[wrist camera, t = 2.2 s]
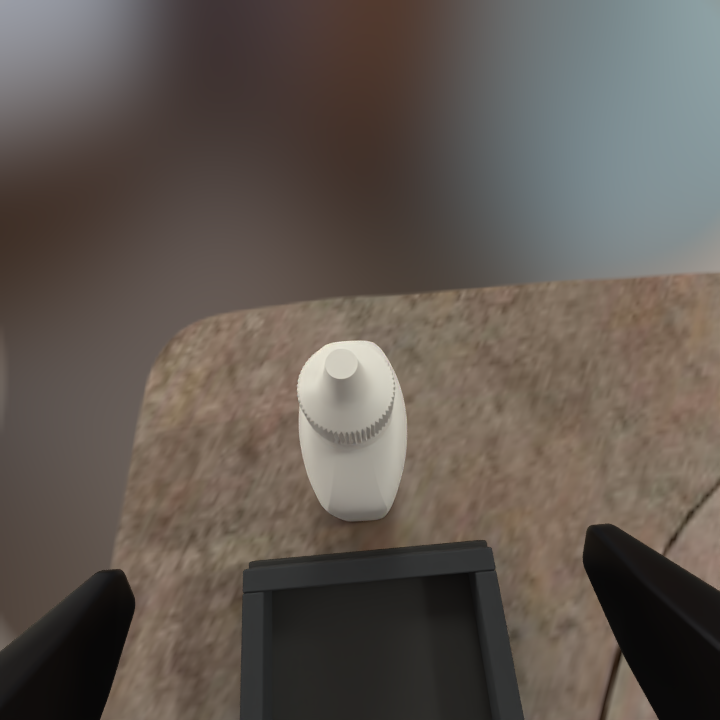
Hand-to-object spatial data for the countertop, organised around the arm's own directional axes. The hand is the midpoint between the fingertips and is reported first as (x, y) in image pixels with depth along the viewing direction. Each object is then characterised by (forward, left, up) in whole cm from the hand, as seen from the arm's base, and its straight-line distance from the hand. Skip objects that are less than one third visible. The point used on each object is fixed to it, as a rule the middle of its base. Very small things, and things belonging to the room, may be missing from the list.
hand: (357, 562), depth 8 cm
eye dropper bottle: (+4, 0, -11) cm, 12 cm away
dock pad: (-5, 0, -11) cm, 12 cm away
